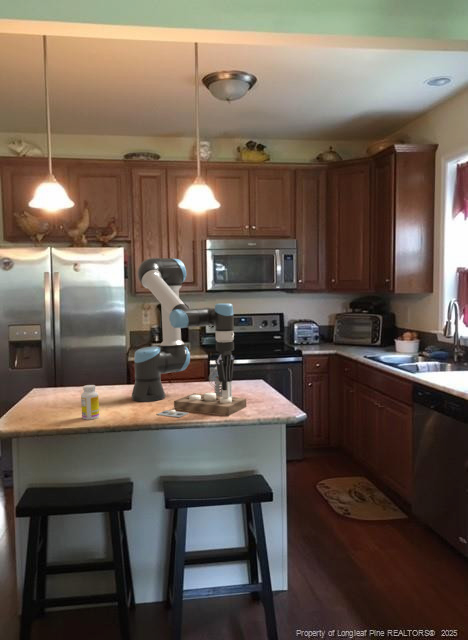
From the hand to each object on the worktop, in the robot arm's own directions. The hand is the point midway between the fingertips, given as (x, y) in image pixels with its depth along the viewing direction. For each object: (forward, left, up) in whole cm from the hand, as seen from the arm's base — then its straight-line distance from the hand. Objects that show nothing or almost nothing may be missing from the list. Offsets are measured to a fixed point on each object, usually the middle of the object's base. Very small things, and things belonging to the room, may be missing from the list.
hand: (226, 397), depth 213 cm
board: (-8, 0, -5) cm, 9 cm away
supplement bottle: (-44, -33, -5) cm, 55 cm away
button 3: (0, 0, -4) cm, 4 cm away
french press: (-13, +19, -5) cm, 24 cm away
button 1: (-15, 0, -4) cm, 16 cm away
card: (-17, -15, -5) cm, 23 cm away
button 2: (-8, 0, -2) cm, 8 cm away
